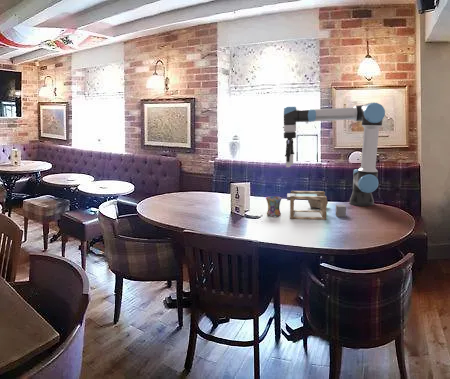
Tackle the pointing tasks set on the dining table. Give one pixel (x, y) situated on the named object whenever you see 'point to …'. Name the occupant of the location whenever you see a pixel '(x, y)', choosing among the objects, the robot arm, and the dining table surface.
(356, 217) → the dining table surface
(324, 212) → the frame
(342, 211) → the stone
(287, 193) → the trapdoor
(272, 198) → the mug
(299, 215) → the mat
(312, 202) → the rock
